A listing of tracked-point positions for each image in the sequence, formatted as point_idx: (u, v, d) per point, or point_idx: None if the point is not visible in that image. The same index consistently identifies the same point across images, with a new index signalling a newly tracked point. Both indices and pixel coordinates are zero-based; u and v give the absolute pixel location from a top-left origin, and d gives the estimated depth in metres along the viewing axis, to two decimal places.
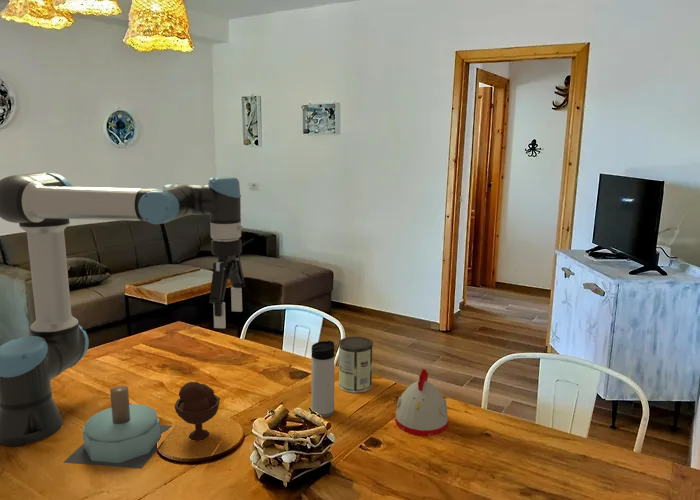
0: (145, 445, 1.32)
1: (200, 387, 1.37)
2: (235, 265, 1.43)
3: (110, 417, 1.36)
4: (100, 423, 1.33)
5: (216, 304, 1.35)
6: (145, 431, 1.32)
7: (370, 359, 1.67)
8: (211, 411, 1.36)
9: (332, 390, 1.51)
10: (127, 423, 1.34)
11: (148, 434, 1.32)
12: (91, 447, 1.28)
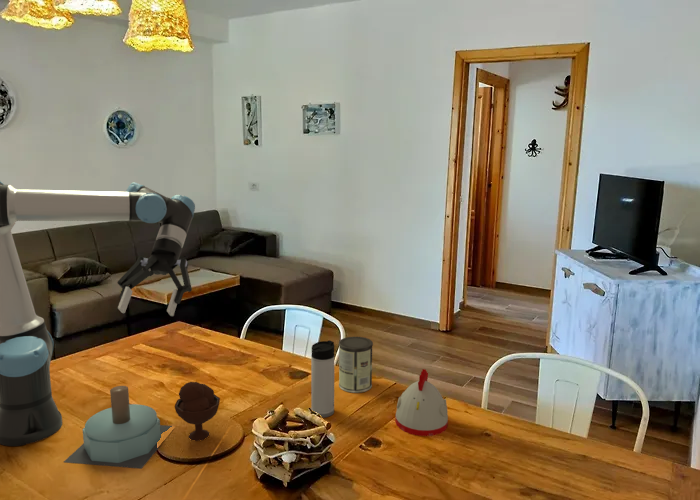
0: (145, 445, 1.32)
1: (200, 387, 1.37)
2: None
3: (110, 417, 1.36)
4: (100, 423, 1.33)
5: (182, 292, 1.47)
6: (145, 431, 1.32)
7: (370, 359, 1.67)
8: (211, 411, 1.36)
9: (332, 390, 1.51)
10: (127, 423, 1.34)
11: (148, 434, 1.32)
12: (91, 447, 1.28)
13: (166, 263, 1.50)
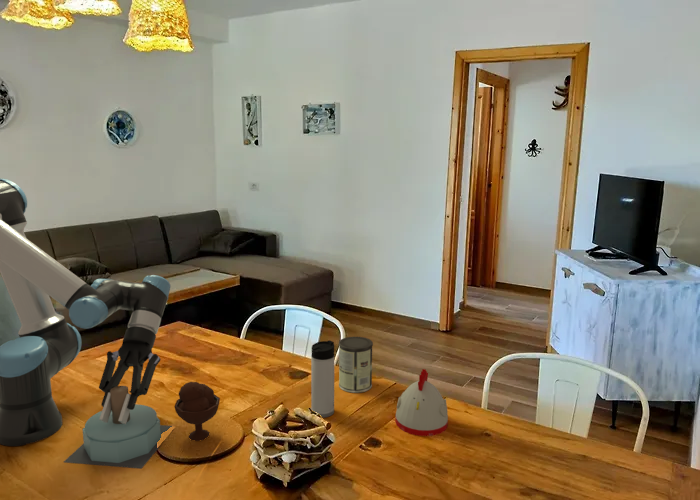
0: (145, 445, 1.32)
1: (200, 387, 1.37)
2: None
3: (110, 417, 1.36)
4: (100, 423, 1.33)
5: (136, 396, 1.34)
6: (145, 431, 1.32)
7: (370, 359, 1.67)
8: (211, 411, 1.36)
9: (332, 390, 1.51)
10: (127, 423, 1.34)
11: (148, 434, 1.32)
12: (91, 447, 1.28)
13: (136, 356, 1.38)
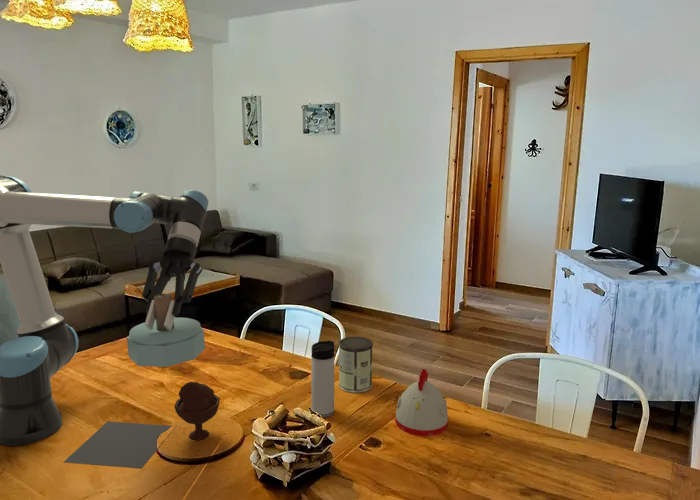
0: (191, 351, 1.29)
1: (200, 387, 1.37)
2: None
3: (154, 326, 1.34)
4: (144, 331, 1.31)
5: (180, 303, 1.32)
6: (191, 337, 1.29)
7: (370, 359, 1.67)
8: (211, 411, 1.36)
9: (332, 390, 1.51)
10: (171, 330, 1.31)
11: (194, 340, 1.30)
12: (137, 351, 1.26)
13: (178, 265, 1.36)
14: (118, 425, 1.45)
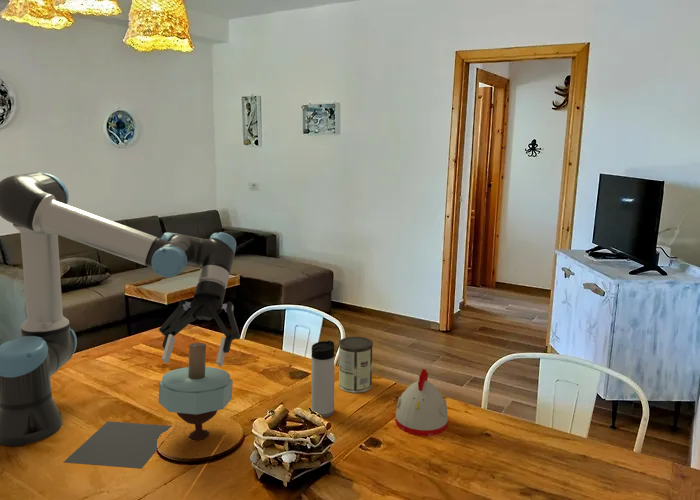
0: (221, 400, 1.33)
1: None
2: None
3: (185, 374, 1.39)
4: (176, 377, 1.36)
5: (230, 340, 1.37)
6: (222, 386, 1.34)
7: (370, 359, 1.67)
8: (211, 411, 1.36)
9: (332, 390, 1.51)
10: (203, 379, 1.36)
11: (224, 390, 1.34)
12: (170, 397, 1.30)
13: (211, 308, 1.40)
14: (118, 425, 1.45)
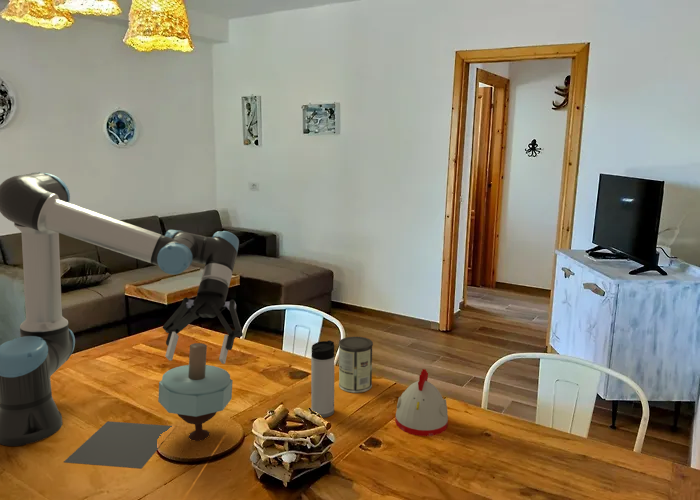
0: (220, 402, 1.34)
1: None
2: None
3: (185, 373, 1.38)
4: (176, 377, 1.36)
5: (233, 337, 1.38)
6: (222, 388, 1.34)
7: (370, 359, 1.67)
8: None
9: (332, 390, 1.51)
10: (203, 380, 1.36)
11: (224, 392, 1.34)
12: (170, 399, 1.30)
13: (214, 306, 1.41)
14: (118, 425, 1.45)
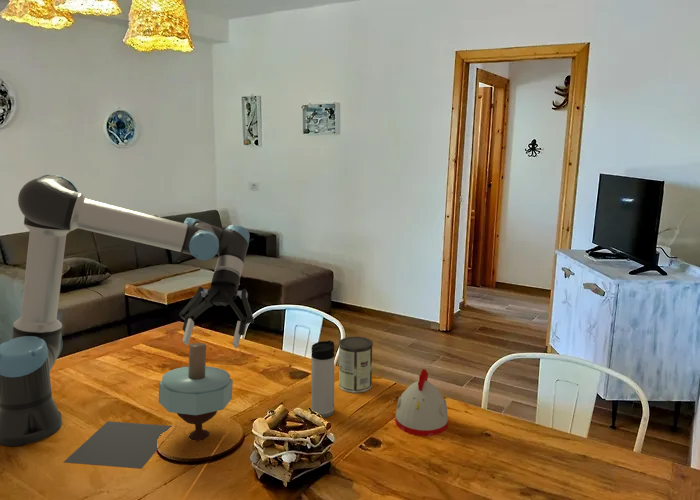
0: (221, 401, 1.33)
1: None
2: None
3: (185, 374, 1.39)
4: (176, 377, 1.36)
5: (245, 323, 1.48)
6: (222, 387, 1.34)
7: (370, 359, 1.67)
8: None
9: (332, 390, 1.51)
10: (203, 379, 1.36)
11: (224, 390, 1.34)
12: (170, 398, 1.30)
13: (227, 294, 1.52)
14: (118, 425, 1.45)
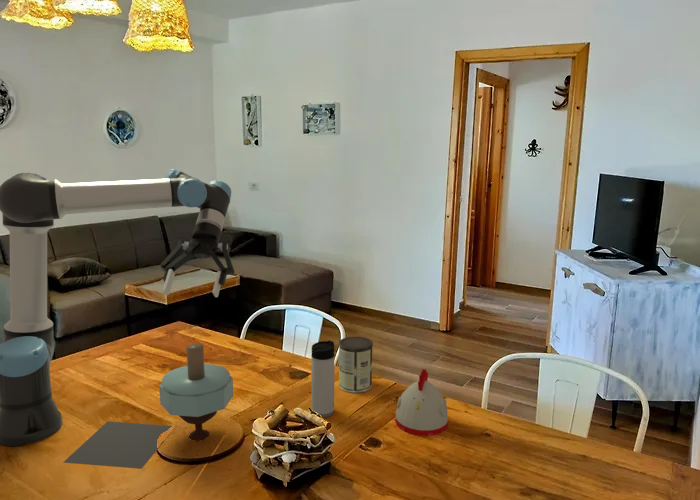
0: (222, 400, 1.34)
1: None
2: None
3: (184, 374, 1.38)
4: (176, 379, 1.36)
5: (225, 274, 1.49)
6: (221, 387, 1.34)
7: (370, 359, 1.67)
8: None
9: (332, 390, 1.51)
10: (202, 379, 1.36)
11: (224, 390, 1.34)
12: (170, 401, 1.30)
13: (208, 246, 1.53)
14: (118, 425, 1.45)
